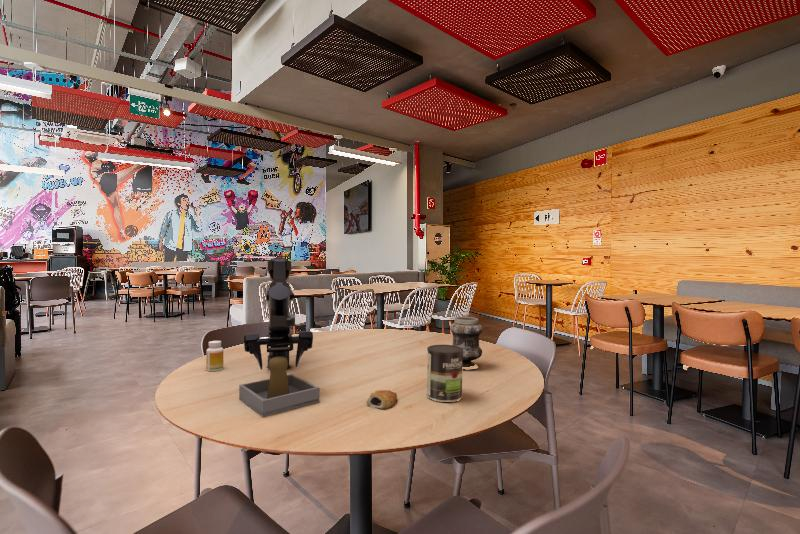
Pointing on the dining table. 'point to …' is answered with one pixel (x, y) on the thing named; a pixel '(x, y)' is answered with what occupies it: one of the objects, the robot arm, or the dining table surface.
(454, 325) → the apothecary jar
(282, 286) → the robot arm
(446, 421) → the dining table surface
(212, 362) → the supplement bottle
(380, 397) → the pastry
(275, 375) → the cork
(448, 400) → the coffee can
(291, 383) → the grey bin
